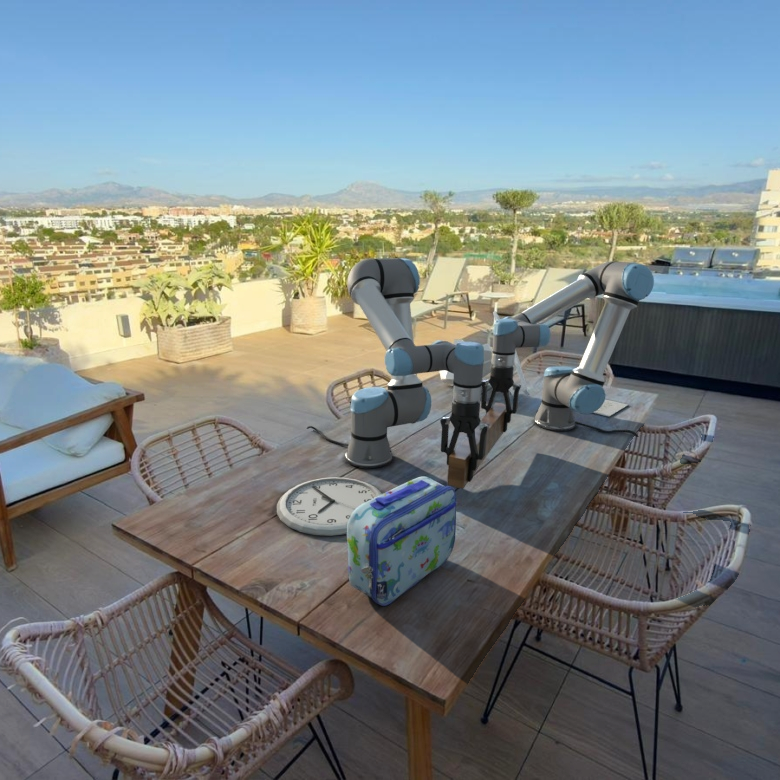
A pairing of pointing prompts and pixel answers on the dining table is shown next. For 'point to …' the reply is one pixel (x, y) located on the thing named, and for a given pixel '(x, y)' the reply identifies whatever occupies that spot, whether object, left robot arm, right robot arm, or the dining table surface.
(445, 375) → the white plastic object
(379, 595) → the lunch box
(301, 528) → the wall clock
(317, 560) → the dining table surface
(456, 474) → the board
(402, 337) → the left robot arm
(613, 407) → the invitation card
